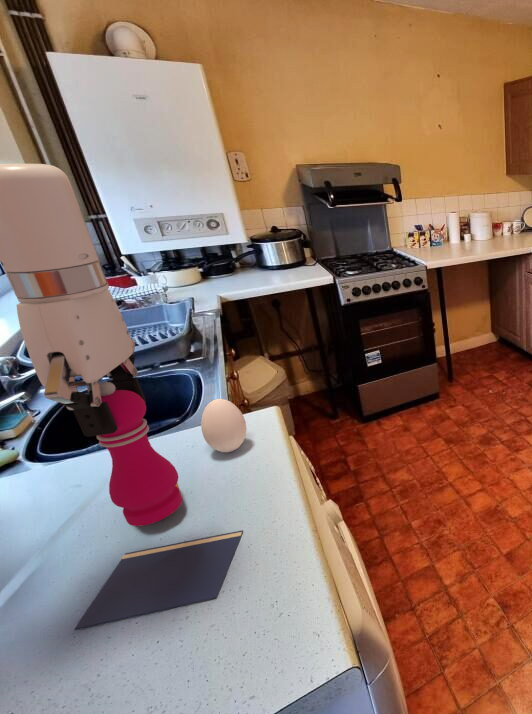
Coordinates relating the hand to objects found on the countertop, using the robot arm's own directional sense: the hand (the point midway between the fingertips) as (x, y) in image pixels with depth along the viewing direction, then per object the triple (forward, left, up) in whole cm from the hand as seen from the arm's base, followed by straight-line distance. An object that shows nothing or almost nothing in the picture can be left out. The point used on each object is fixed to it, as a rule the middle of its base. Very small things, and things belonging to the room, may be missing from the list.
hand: (117, 417), depth 56 cm
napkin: (0, -3, -25) cm, 25 cm away
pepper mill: (0, 0, -15) cm, 15 cm away
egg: (-1, +28, -25) cm, 38 cm away
